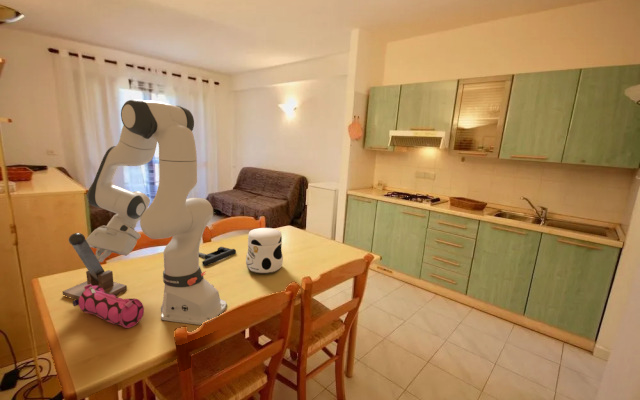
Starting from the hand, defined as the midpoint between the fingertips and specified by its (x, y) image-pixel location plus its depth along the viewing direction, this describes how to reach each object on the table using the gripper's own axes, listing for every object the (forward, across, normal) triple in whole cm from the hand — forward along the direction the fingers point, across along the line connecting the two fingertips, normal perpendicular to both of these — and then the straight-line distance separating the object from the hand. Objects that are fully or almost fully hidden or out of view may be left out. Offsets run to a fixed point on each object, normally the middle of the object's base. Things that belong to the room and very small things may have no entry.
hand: (97, 261), depth 108 cm
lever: (+5, 0, +6) cm, 8 cm away
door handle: (-22, +17, +41) cm, 50 cm away
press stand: (+10, 0, +7) cm, 12 cm away
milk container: (-22, +47, +40) cm, 65 cm away
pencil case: (+16, +20, +2) cm, 25 cm away
